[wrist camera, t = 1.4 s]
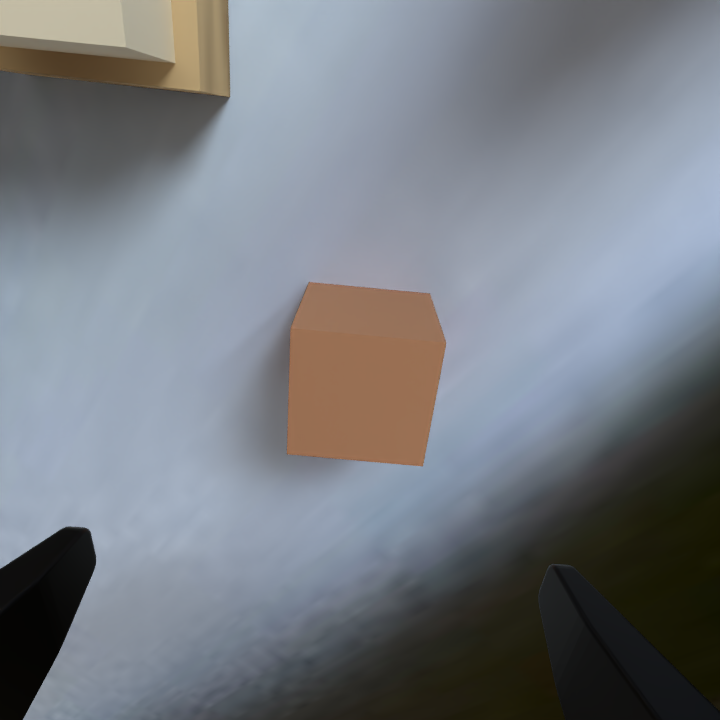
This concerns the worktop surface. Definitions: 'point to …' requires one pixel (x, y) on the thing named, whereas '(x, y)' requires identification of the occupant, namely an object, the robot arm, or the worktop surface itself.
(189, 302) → the worktop surface
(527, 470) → the worktop surface
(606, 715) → the robot arm
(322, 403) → the terracotta block
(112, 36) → the cream block
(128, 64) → the oak base block
